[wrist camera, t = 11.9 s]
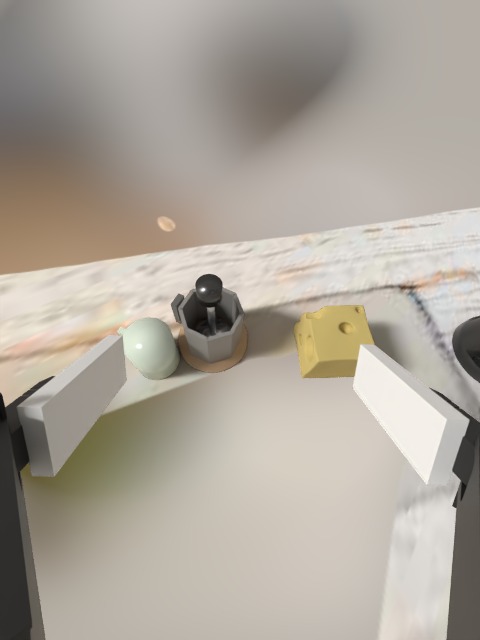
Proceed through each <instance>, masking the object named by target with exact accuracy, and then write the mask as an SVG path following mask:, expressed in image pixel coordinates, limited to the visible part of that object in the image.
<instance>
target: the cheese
mask: <svg viewBox="0 0 480 640" xmlns="http://www.w3.org/2000/svg"><path fill="white" fill-rule="evenodd" d="M294 335H295V339H296V343H297V349H298V356H299V362H300V369H301V376H302V378H330V377H354V376H355V372H356V367H357V361H358V356H359V350H360V345H361V344H370V345H375V343H374V340H373V338H372V335H371V332H370V329H369V326H368V322H367V318H366V314H365V310H364V307H363V305H345V306H325V307H323V308H322V309H320V310H319V311H317V312H314V313H304V314H303V315H302V316H301V318H300V322H298V323H296V324H295V326H294Z"/></svg>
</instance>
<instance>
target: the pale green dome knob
mask: <svg viewBox="0 0 480 640" xmlns="http://www.w3.org/2000/svg"><path fill="white" fill-rule="evenodd" d="M117 332H118V333H119V335H123V344H124V354H125V355H126V356H127V357H128V359H129V360H130V361H131V362H132V363H133V364H134V366H135V367H136V368H137V369H138V370H139V371H140V373H141V374H142V375H143V376H144V377H146V378H148V379H151V380H161V379H164V378H167V377H168V376H170V375H171V374H172V373H174V371H175V370H176V369H177V367H178V365H179V361H180V355H179V351H178V349H177V346H176V344H175V341H174V338H173V336H172V333H171V330H170V328H169V327H168V325H167V324H166V323H165V322H163V321H161V320H159V319H156V318H143V319H140V320H137V321H135V322H134V323H132V324H131V325H130V326H129V327H128V328H127V329H125V328H123V327H120V328H119V330H118V331H117Z"/></svg>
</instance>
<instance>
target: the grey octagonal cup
mask: <svg viewBox="0 0 480 640" xmlns="http://www.w3.org/2000/svg"><path fill="white" fill-rule="evenodd" d="M222 295H223V297H222V301H221V303H220V304H219V305H218V306H216V307H215V318H218V319H221V320H223V321H224V322H225V323H226V324H227V325H228V326H229V328H230V331H228V332H224V333H221V334H217V335H214V336H210V337H206V336H204V335H202V334H200V333H198V332H196V328H197V326H198V325H199V324H200V323H201V322H202V321H204V320H206V319H208V313H207V307H204V306H202V305H201V304H200V303H199V302H198V299H197V292H196V289H192V290H190V292H189V293H188V295H187V296H186V298H185V299H184V296H183V295H181V294H178V295H177V296H176V298H175V299H174V300H173V302H172V303H171V307H172V310H173V313H174V316H175V319H176V322H178V323H180V324H181V323H182V327H181V329H180V332H179V337H178V344H179V349H180V351H181V354H182V356H183V358H184V359H185V360H186V362H187V363H188V364H189V365H191V366H192V367H194V368H195V369H197V370H200V371H203V372H208V373H216V372H222V371H225V370H227V369H230V368H231V367H233V366H234V365H236V364H237V363H238V362H239V361H240V360H241V358H242V357H243V355H244V353H245V351H246V347H247V342H248V336H247V331H246V328H245V326H244V324H243V318H244V312H243V309H242V307H241V304H240V302H239V299H238V297H237V294H236V293H234V292H232V291H230V290H227V289H225V288H223V287H222Z"/></svg>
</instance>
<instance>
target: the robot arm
mask: <svg viewBox="0 0 480 640" xmlns="http://www.w3.org/2000/svg"><path fill="white" fill-rule="evenodd" d="M452 343H453V349H454V352H455V355H456V357H457V359H458V361H459V362H460V364H461V365H462V367H463V368H464V369H465V370H466V371H467V373H468V374H469V375H471V376H472V377H473V378H474V379H475V380H477V381H478V382H479V383H480V316H477V317H473V318H471V319H469V320H467V321H466V322H464V323H462V324H461V325H459V326H458V327H457V328H456V330H455V332H454V334H453V339H452ZM125 382H126V368H125V356H124V344H123V335H108V336H107V337H105V338H104V339H103V340H101V341H100V342H99V343H98V344H96V345H95V346H94V347H92V348H91V349H90V350H89V351H87V352H86V353H85V354H84V355H82V356H81V357H80V358H78V359H77V360H76V361H75V362H73V363H72V364H71V365H69V366H68V367H67V368H66V369H64V370H63V371H62V372H60V373H59V374H58V375H57V376H52V377H49V378H47V379H45V380H43V381H41V382H39V383H38V384H36V385H35V386H33V387H32V388H31V389H30V390H28V391H27V392H25V393H24V394H23V395H22V396H20V397H19V398H17V399H16V400H15V401H13V402H12V403H11V404H9V405H8V406H7V407H5V405H4V401H3V396H2V394H1V393H0V640H45V633H44V626H43V620H42V613H41V606H40V599H39V593H38V586H37V580H36V573H35V566H34V559H33V552H32V546H31V539H30V532H29V526H28V519H27V512H26V505H25V498H24V492H23V485H22V479H21V475H20V471H21V470H22V469H23V468H24V467H25V465H26V464H27V463H28V462H29V465H30V470H31V475H32V476H55V475H56V473H57V472H58V471H59V470H60V468H61V467H62V466H63V464H64V463H65V462H66V460H67V459H68V458H69V456H70V455H71V454H72V452H73V451H74V450H75V448H76V447H77V446H78V444H79V443H80V442H81V440H82V439H83V438H84V436H85V435H86V434H87V432H88V431H89V429H90V428H91V427H92V426H93V424H94V423H95V422H96V420H97V419H98V418H99V416H100V415H101V414H102V412H103V411H104V410H105V408H106V407H107V406H108V405H109V403H110V402H111V401H112V399H113V398H114V397H115V395H116V394H117V393H118V391H119V390H120V389H121V387H122V386H123V385H124V383H125ZM353 389H354V390H355V391H356V393H357V394H358V396H359V397H360V398H361V400H362V401H363V402H364V403H365V405H366V406H367V407H368V409H369V410H370V411H371V413H372V414H373V415H374V417H375V418H376V419H377V420H378V422H379V423H380V424H381V425H382V427H383V428H384V429H385V431H386V432H387V433H388V435H389V436H390V437H391V439H392V440H393V441H394V443H395V444H396V445H397V447H398V448H399V449H400V451H401V452H402V453H403V454H404V456H405V457H406V458H407V460H408V461H409V462H410V464H411V465H412V466H413V467H414V469H415V470H416V471H417V473H418V474H419V475H420V477H421V478H422V479H423V481H424V482H425V483H426V484H427V485H444V486H448V484H449V481H450V478H451V475H452V472H454V473H455V474H456V475H457V477H458V478H459V479H460V480H461V482H460V485H459V488H458V491H457V494H456V497H455V500H454V503H453V505H452V506H453V507H455V508H457V510H456V523H455V536H454V550H453V563H452V576H451V589H450V602H449V615H448V628H447V640H480V423H479V422H478V421H477V420H475V419H474V418H473V417H471V416H470V415H469V414H467V413H466V412H465V411H464V410H462V409H459V407H458V406H457V405H456V404H454V403H452V401H451V400H449V399H448V398H447V397H445V396H444V395H443V394H441V393H439V392H437V391H435V390H433V389H431V388H428V387H427V386H426V385H425V384H423V383H422V382H421V381H420V380H418V379H417V378H416V377H414V376H413V375H412V374H411V373H409V372H408V371H407V370H406V369H404V368H403V367H402V366H401V365H399V364H398V363H397V362H395V361H394V360H393V359H392V358H390V357H389V356H388V355H387V354H385V353H384V352H383V351H382V350H380V349H379V348H378V347H377V346H375V345H370V344H361V345H360V350H359V356H358V361H357V367H356V372H355V378H354V383H353Z"/></svg>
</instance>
